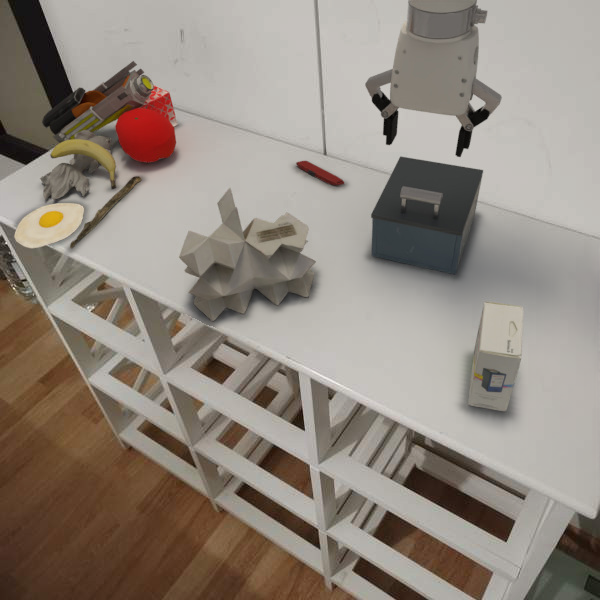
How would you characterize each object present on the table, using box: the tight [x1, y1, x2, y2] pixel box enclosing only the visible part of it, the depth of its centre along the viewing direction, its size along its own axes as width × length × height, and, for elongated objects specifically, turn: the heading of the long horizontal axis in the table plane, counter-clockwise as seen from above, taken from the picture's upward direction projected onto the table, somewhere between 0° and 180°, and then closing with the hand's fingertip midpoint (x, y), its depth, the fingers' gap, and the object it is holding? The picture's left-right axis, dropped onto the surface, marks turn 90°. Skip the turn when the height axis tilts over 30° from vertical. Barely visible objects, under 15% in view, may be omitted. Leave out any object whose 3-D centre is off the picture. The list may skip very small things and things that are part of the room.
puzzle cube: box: [139, 84, 179, 128], centre depth 127 cm, size 8×8×8 cm
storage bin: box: [371, 176, 483, 275], centre depth 96 cm, size 16×14×9 cm
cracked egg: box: [13, 202, 85, 249], centre depth 108 cm, size 13×12×1 cm
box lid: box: [370, 156, 484, 236], centre depth 90 cm, size 16×14×5 cm
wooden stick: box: [69, 175, 142, 249], centre depth 109 cm, size 2×23×2 cm, turn 158°
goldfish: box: [39, 130, 112, 201], centre depth 118 cm, size 20×10×9 cm
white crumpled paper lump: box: [178, 187, 317, 322], centre depth 91 cm, size 23×19×15 cm
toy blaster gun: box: [41, 60, 155, 144], centre depth 121 cm, size 9×26×10 cm
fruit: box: [49, 139, 117, 189], centre depth 114 cm, size 7×13×3 cm
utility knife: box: [295, 160, 345, 186], centre depth 112 cm, size 12×1×2 cm
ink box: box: [467, 301, 524, 412], centre depth 74 cm, size 9×5×12 cm, turn 164°
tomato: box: [114, 108, 177, 164], centre depth 118 cm, size 11×13×10 cm
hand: (425, 145), depth 79 cm, fingers open, 9 cm apart
